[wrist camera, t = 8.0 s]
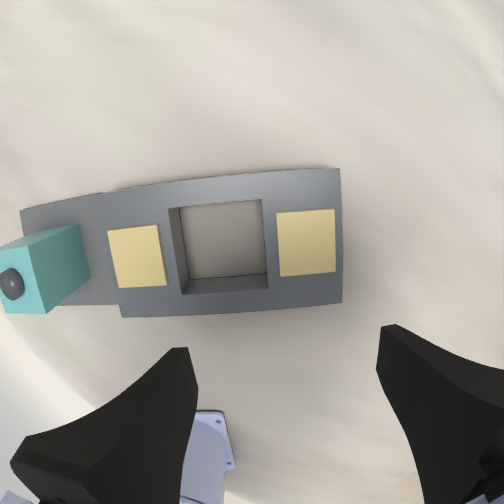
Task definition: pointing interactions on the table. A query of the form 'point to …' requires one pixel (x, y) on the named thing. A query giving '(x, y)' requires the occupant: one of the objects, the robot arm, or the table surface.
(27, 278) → the plug
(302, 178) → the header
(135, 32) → the table surface
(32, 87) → the table surface
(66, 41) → the table surface
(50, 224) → the mat
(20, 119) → the table surface
